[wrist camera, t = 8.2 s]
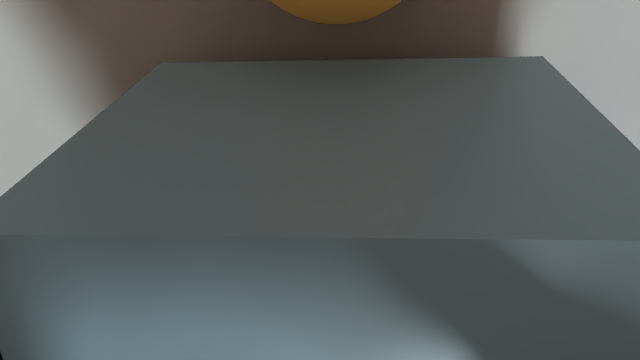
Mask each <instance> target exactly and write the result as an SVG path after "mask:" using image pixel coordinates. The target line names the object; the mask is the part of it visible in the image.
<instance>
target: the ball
mask: <svg viewBox="0 0 640 360" xmlns="http://www.w3.org/2000/svg"><path fill="white" fill-rule="evenodd" d="M270 1H271V2H272V3H273V4H275V5H276V6H278V7H279V8H281V9H282V10H284V11H286V12H288V13H290V14H292V15H294V16H296V17H298V18H301V19H304V20H307V21H311V22H316V23H322V24H350V23H356V22H360V21H364V20H367V19H370V18H373V17H375V16H377V15H379V14H381V13H383V12H386V11H387V10H389V9H391V8H392V7H394V6H395V5H396V4H398V3H399V2H400V1H402V0H270Z"/></svg>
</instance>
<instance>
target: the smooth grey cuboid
mask: <svg viewBox="0 0 640 360" xmlns="http://www.w3.org/2000/svg"><path fill="white" fill-rule="evenodd" d="M0 352H1V355H2V357H3V360H640V151H639V150H638V149H637V148H636V147H635V146H634V145H633V144H632V143H631V142H630V141H629V140H628V139H627V138H626V137H625V136H624V135H623V134H622V133H621V132H620V131H619V130H618V129H617V128H616V127H615V126H614V125H613V124H612V123H611V122H610V121H609V120H608V119H607V118H606V117H605V116H603V115H602V114H601V113H600V112H599V111H598V110H597V109H596V108H595V107H594V106H593V105H592V104H591V103H590V102H589V101H588V100H587V99H586V98H585V97H584V96H583V95H582V94H581V93H580V92H579V91H578V90H577V89H576V88H575V87H574V86H573V85H572V84H571V83H570V82H569V81H567V80H566V79H565V78H564V77H563V76H562V75H561V74H560V73H559V72H558V71H557V70H556V69H555V68H554V67H553V66H552V65H551V64H550V63H549V62H548V61H547V60H546V59H545V58H544V57H543V56H536V57H477V58H417V59H357V60H297V61H237V62H178V63H160V64H158V65H157V66H156V67H155V68H154V69H152V70H151V71H150V72H149V73H148V74H146V75H145V76H144V77H143V78H142V79H141V80H139V81H138V82H137V83H136V84H135V85H133V86H132V87H131V88H130V89H129V90H127V91H126V92H125V93H124V94H123V95H121V96H120V97H119V98H118V99H117V100H115V101H114V102H113V103H112V104H111V105H109V106H108V107H107V108H106V109H105V110H104V111H102V112H101V113H100V114H99V115H98V116H96V117H95V118H94V119H93V120H92V121H90V122H89V123H88V124H87V125H86V126H84V127H83V128H82V129H81V130H80V131H78V132H77V133H76V134H75V135H74V136H72V137H71V138H70V139H69V140H68V141H67V142H65V143H64V144H63V145H62V146H61V147H59V148H58V149H57V150H56V151H55V152H53V153H52V154H51V155H50V156H49V157H47V158H46V159H45V160H44V161H43V162H41V163H40V164H39V165H38V166H37V167H35V168H34V169H33V170H32V171H31V172H30V173H28V174H27V175H26V176H25V177H24V178H22V179H21V180H20V181H19V182H18V183H16V184H15V185H14V186H13V187H12V188H10V189H9V190H8V191H7V192H6V193H4V194H3V195H2V196H1V197H0Z"/></svg>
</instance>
